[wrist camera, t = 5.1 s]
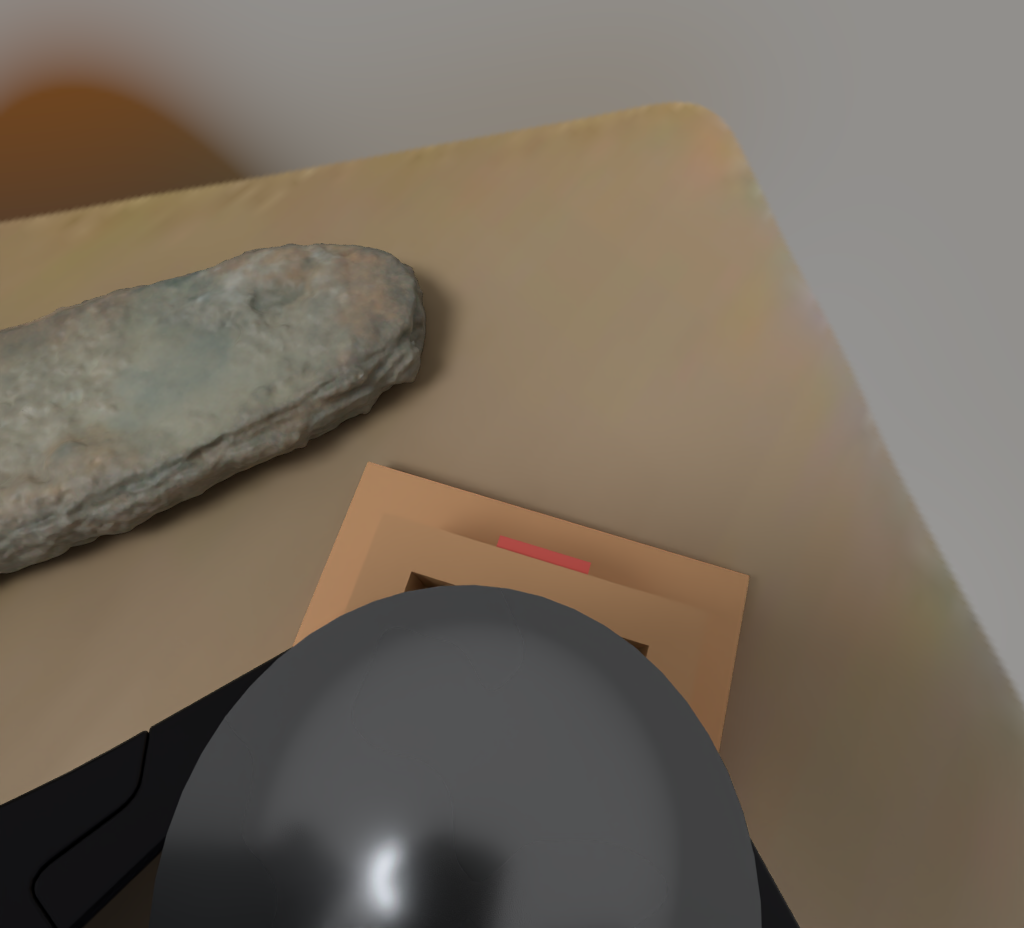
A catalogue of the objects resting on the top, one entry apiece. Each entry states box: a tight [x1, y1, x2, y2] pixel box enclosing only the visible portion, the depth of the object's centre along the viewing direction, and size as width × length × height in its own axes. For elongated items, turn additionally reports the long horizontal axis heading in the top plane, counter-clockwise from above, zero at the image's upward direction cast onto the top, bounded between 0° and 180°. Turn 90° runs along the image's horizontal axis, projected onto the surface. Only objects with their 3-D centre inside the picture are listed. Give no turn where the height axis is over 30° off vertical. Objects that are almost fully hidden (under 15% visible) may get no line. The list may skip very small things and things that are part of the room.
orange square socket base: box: [292, 462, 750, 753], centre depth 16 cm, size 13×13×6 cm
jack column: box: [149, 585, 762, 928], centre depth 10 cm, size 5×5×12 cm
